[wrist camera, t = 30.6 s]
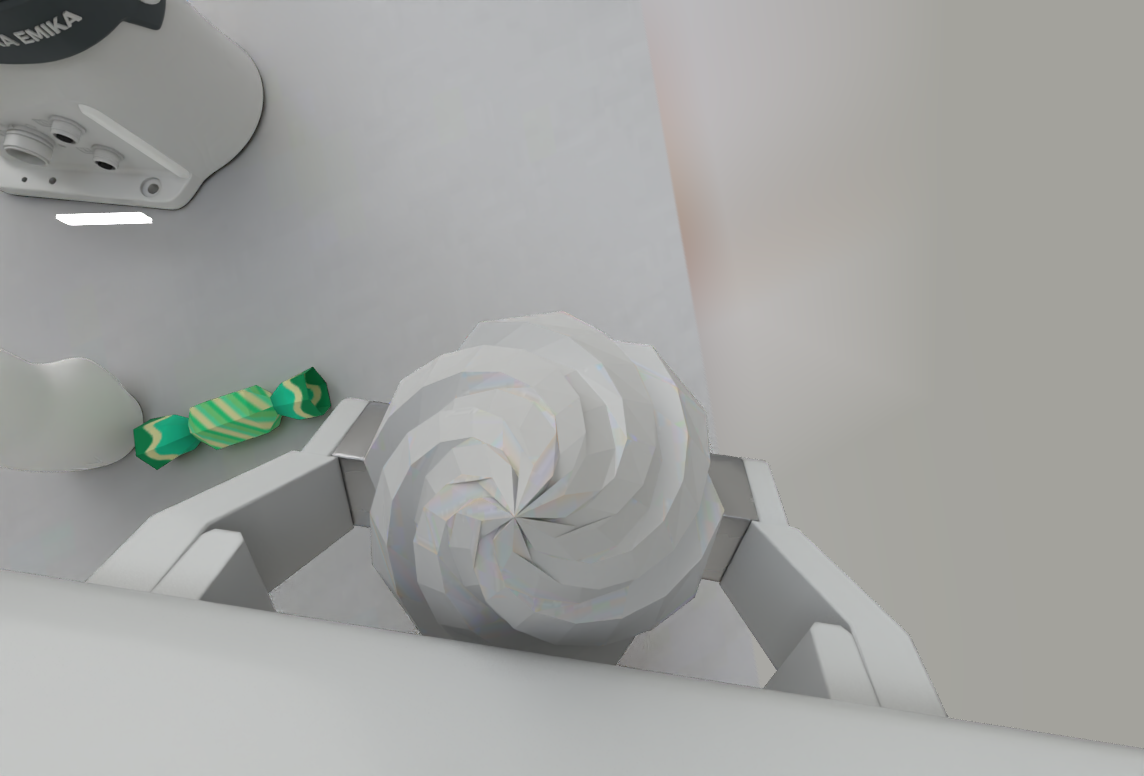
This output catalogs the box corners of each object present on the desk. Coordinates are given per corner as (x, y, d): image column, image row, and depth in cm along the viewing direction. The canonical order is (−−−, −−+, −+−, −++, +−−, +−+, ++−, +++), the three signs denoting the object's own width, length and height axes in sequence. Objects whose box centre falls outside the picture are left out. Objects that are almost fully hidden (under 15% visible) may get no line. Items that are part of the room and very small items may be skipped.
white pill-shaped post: (152, 365, 38) (-38, 320, 26) (150, 465, 37) (-49, 465, 25) (57, 376, 38) (-179, 334, 26) (52, 477, 36) (-197, 482, 24)
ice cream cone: (451, 445, 18) (-65, 360, 3) (583, 369, 19) (657, -2, 4) (526, 582, 17) (305, 1274, 3) (660, 500, 18) (1130, 681, 3)
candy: (168, 478, 35) (121, 446, 32) (181, 442, 38) (137, 408, 35) (331, 424, 36) (300, 388, 33) (334, 392, 39) (304, 356, 36)
